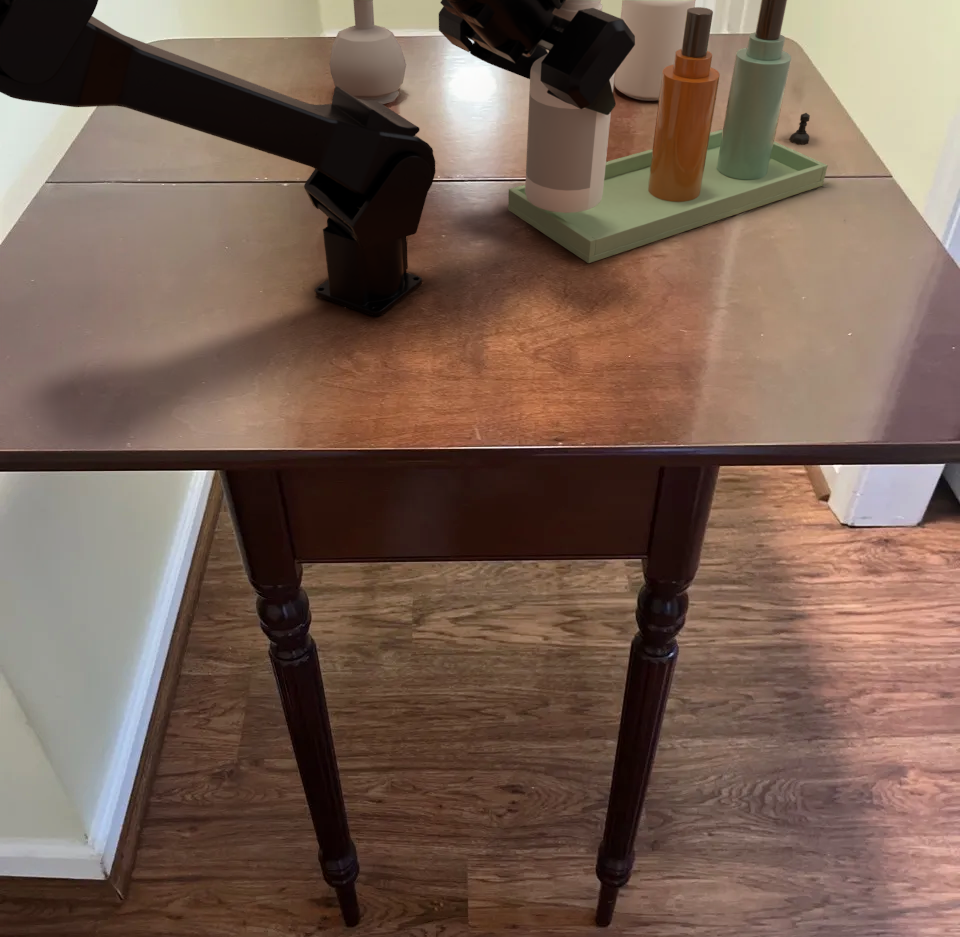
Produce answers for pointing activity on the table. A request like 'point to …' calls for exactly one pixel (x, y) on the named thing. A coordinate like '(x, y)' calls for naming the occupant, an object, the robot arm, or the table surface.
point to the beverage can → (650, 44)
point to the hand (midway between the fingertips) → (583, 96)
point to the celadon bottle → (755, 98)
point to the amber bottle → (685, 114)
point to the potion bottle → (367, 58)
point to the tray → (664, 202)
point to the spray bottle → (564, 142)
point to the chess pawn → (801, 131)
